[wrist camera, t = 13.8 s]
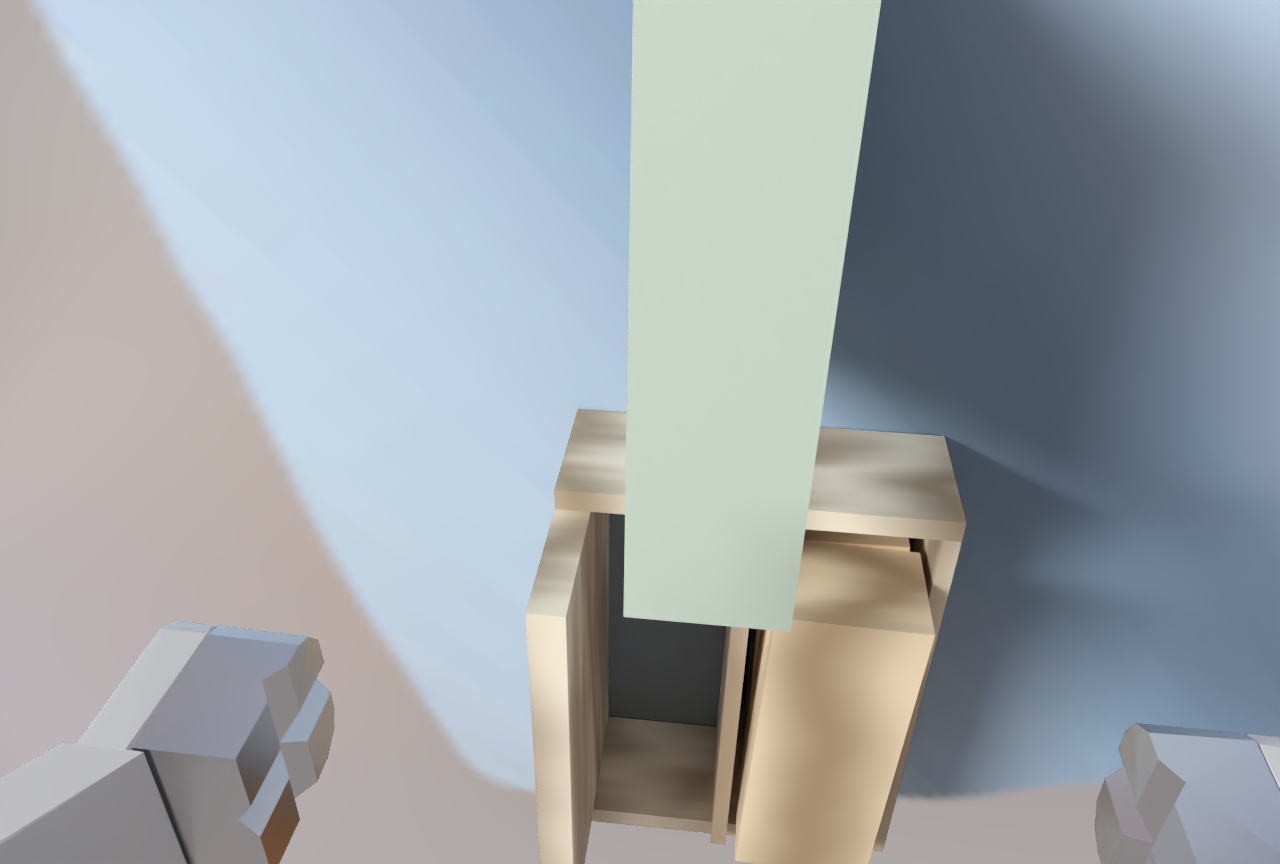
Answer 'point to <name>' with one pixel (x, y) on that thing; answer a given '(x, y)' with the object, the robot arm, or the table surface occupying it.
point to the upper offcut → (832, 707)
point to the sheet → (734, 292)
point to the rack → (704, 755)
